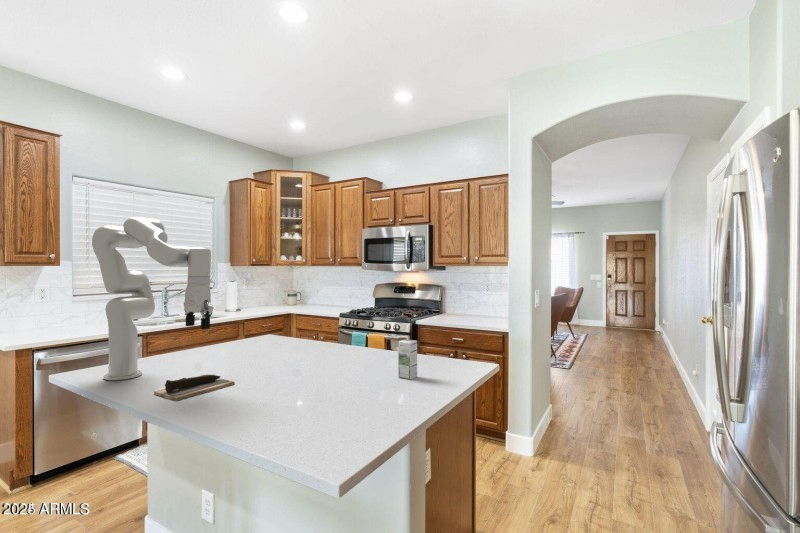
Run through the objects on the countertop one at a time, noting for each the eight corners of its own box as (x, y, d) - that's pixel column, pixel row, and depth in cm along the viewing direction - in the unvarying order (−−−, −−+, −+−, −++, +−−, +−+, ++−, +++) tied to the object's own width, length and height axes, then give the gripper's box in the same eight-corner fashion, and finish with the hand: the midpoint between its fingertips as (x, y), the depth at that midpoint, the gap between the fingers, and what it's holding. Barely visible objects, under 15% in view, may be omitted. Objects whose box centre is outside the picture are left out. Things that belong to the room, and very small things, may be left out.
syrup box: (417, 376, 162) (417, 340, 162) (410, 380, 157) (410, 342, 157) (405, 374, 165) (405, 338, 165) (397, 377, 160) (397, 341, 160)
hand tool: (170, 381, 137) (162, 380, 139) (170, 393, 136) (163, 391, 139) (221, 369, 153) (214, 368, 155) (221, 380, 152) (214, 379, 155)
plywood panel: (154, 394, 139) (154, 390, 139) (212, 379, 158) (212, 376, 158) (175, 400, 132) (175, 396, 132) (234, 384, 151) (234, 380, 151)
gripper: (176, 280, 152) (174, 325, 152) (203, 282, 142) (201, 331, 143) (195, 279, 158) (193, 323, 158) (222, 282, 149) (220, 329, 149)
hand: (197, 327), depth 150 cm, fingers open, 9 cm apart
